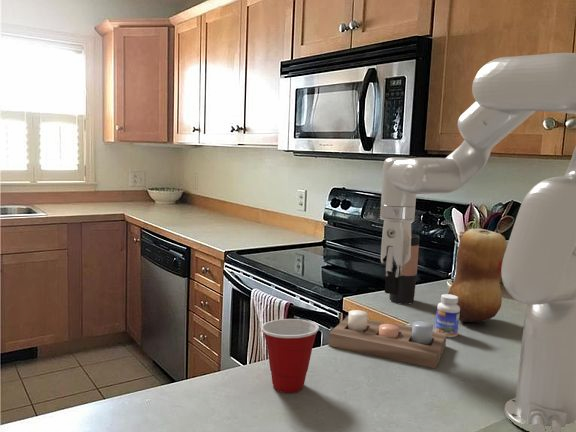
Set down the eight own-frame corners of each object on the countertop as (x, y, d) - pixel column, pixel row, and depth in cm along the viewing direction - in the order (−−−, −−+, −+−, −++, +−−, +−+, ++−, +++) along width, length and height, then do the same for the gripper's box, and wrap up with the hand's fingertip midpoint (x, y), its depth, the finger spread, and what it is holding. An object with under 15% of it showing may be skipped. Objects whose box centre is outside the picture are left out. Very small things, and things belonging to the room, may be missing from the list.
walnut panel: (436, 368, 108) (437, 354, 108) (328, 345, 118) (329, 333, 117) (445, 346, 121) (446, 333, 120) (347, 327, 130) (348, 315, 130)
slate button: (429, 347, 113) (431, 329, 112) (409, 343, 115) (410, 325, 114) (432, 340, 117) (434, 323, 116) (413, 336, 119) (414, 320, 118)
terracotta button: (395, 348, 116) (396, 331, 116) (375, 345, 118) (377, 328, 118) (399, 342, 120) (400, 326, 120) (380, 338, 122) (382, 322, 122)
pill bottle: (432, 334, 128) (436, 296, 126) (437, 328, 132) (440, 291, 131) (455, 339, 125) (458, 300, 124) (459, 332, 130) (462, 295, 129)
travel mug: (383, 298, 157) (388, 233, 154) (403, 296, 160) (408, 232, 157) (398, 305, 150) (404, 238, 147) (419, 303, 153) (425, 237, 151)
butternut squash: (492, 334, 130) (502, 236, 126) (439, 322, 137) (448, 229, 134) (504, 320, 141) (513, 230, 138) (455, 309, 149) (462, 224, 145)
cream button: (363, 334, 119) (364, 317, 119) (345, 330, 121) (346, 314, 120) (368, 328, 123) (369, 312, 122) (351, 324, 125) (352, 308, 124)
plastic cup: (291, 368, 105) (294, 311, 103) (327, 389, 97) (331, 328, 95) (247, 381, 98) (249, 321, 97) (282, 405, 90) (285, 340, 88)
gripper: (407, 218, 107) (401, 304, 109) (420, 211, 120) (415, 288, 123) (372, 215, 110) (367, 298, 112) (388, 208, 123) (384, 283, 126)
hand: (392, 293), depth 117 cm, fingers closed
